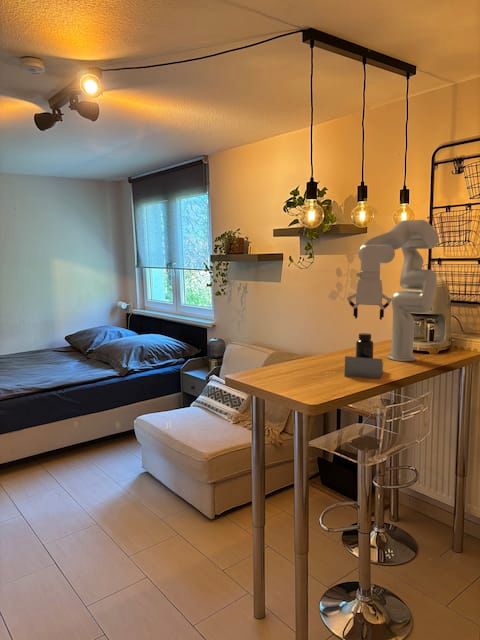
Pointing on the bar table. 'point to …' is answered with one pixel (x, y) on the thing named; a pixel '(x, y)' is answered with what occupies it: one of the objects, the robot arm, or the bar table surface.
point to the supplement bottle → (364, 346)
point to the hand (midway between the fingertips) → (368, 318)
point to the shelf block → (363, 367)
